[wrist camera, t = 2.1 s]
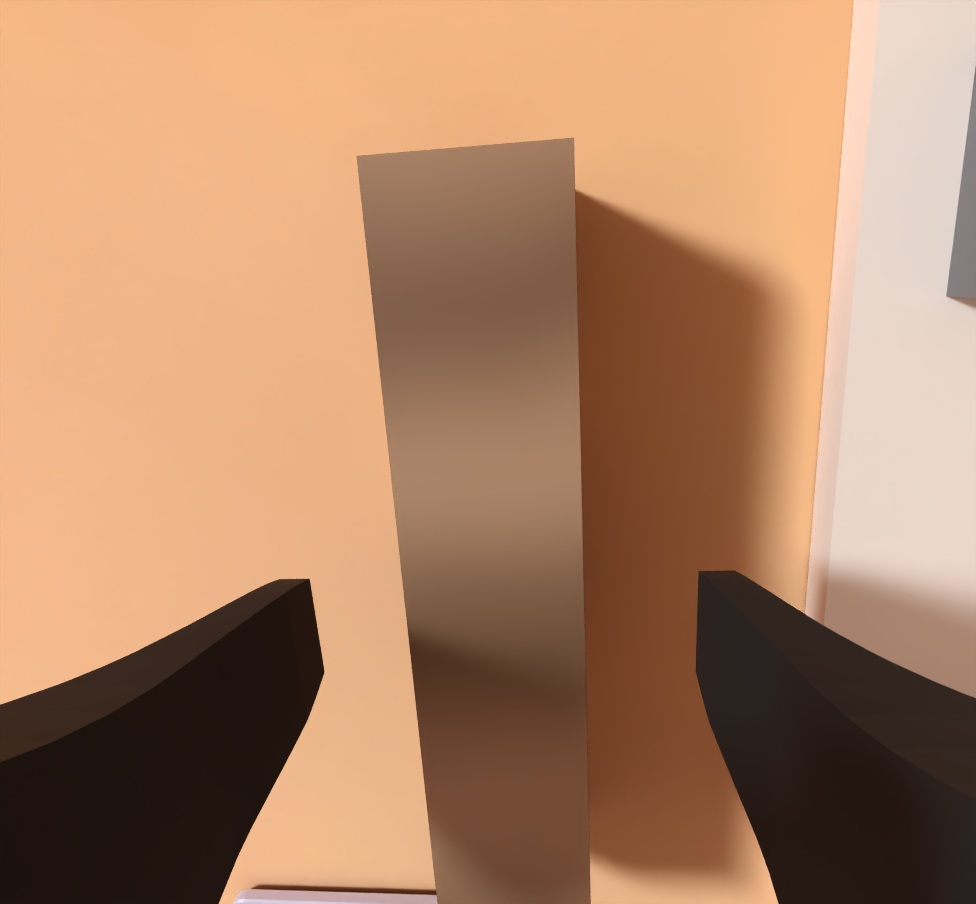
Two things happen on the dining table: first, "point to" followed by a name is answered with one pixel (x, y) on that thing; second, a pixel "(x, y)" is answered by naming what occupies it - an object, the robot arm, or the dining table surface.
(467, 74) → the dining table surface
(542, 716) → the slat
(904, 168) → the board
